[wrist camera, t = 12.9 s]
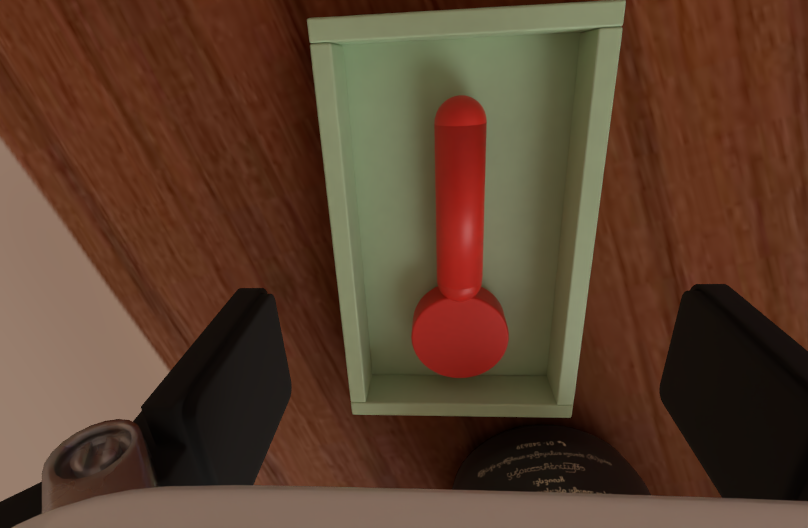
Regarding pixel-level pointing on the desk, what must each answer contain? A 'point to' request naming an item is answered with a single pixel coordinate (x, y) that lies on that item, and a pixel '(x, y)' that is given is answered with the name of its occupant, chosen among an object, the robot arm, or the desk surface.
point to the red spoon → (459, 253)
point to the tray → (504, 190)
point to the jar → (548, 464)
